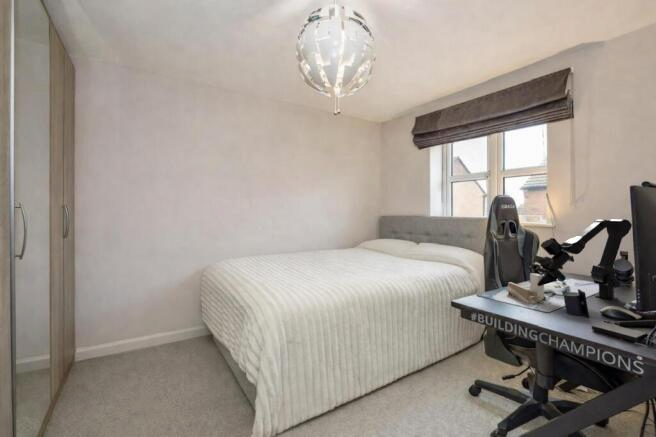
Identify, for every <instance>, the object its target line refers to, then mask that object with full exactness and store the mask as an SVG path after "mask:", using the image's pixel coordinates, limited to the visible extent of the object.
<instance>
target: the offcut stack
mask: <svg viewBox="0 0 656 437" xmlns="http://www.w3.org/2000/svg"><path fill="white" fill-rule="evenodd" d="M523 287H524V286H523ZM524 288H526V289H529V290H530V288H527V287H524ZM531 296H536V292H535V291H533V290H531Z"/></svg>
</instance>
